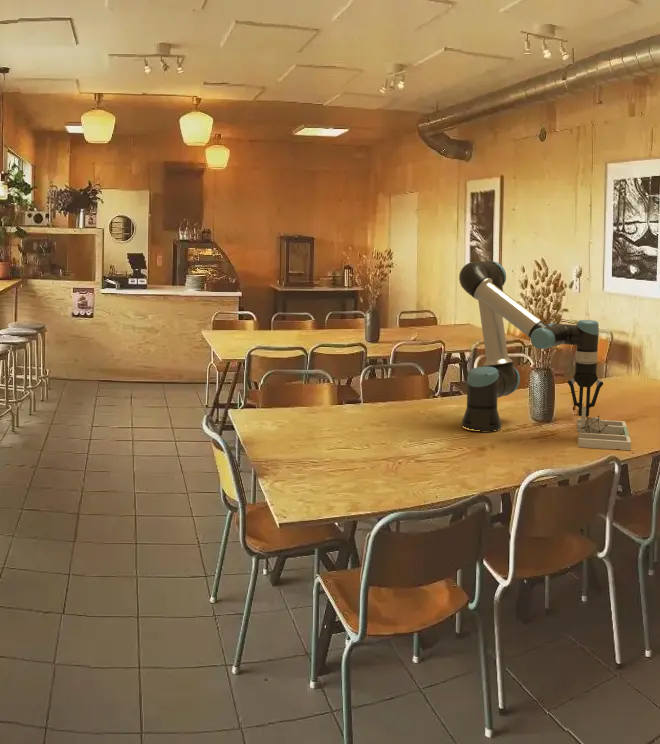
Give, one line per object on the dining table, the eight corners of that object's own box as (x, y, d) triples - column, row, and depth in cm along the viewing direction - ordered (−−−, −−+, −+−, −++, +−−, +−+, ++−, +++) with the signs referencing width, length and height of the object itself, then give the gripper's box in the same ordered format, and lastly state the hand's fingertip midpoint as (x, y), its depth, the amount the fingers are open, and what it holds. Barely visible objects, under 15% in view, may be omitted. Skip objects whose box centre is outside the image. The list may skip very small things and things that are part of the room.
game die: (597, 448, 304) (607, 431, 297) (575, 438, 306) (584, 421, 299) (603, 432, 310) (612, 415, 303) (581, 422, 312) (590, 405, 305)
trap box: (578, 446, 292) (578, 438, 291) (576, 426, 322) (577, 418, 322) (630, 450, 287) (631, 442, 287) (624, 428, 317) (625, 421, 317)
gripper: (567, 363, 300) (565, 425, 304) (605, 364, 296) (601, 428, 300) (567, 360, 307) (565, 421, 311) (604, 361, 303) (601, 423, 307)
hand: (583, 424), depth 306 cm, fingers closed
